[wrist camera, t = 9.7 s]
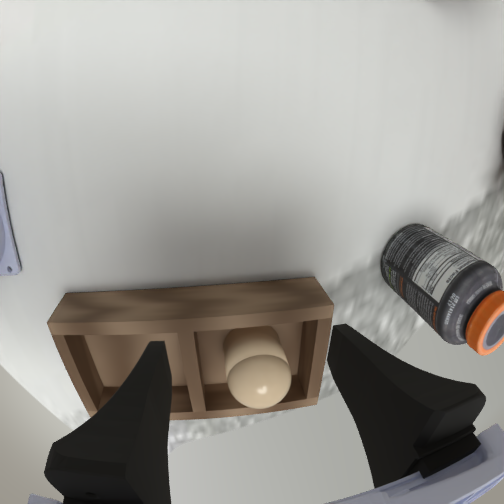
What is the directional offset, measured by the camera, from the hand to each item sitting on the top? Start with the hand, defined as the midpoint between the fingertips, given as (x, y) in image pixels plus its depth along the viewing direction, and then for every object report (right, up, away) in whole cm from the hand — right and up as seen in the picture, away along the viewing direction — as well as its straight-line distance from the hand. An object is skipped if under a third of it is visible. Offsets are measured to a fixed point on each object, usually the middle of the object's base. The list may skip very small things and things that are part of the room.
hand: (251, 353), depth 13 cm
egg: (0, -3, +11) cm, 11 cm away
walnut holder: (-5, -3, +11) cm, 13 cm away
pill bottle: (+13, +4, +12) cm, 18 cm away
